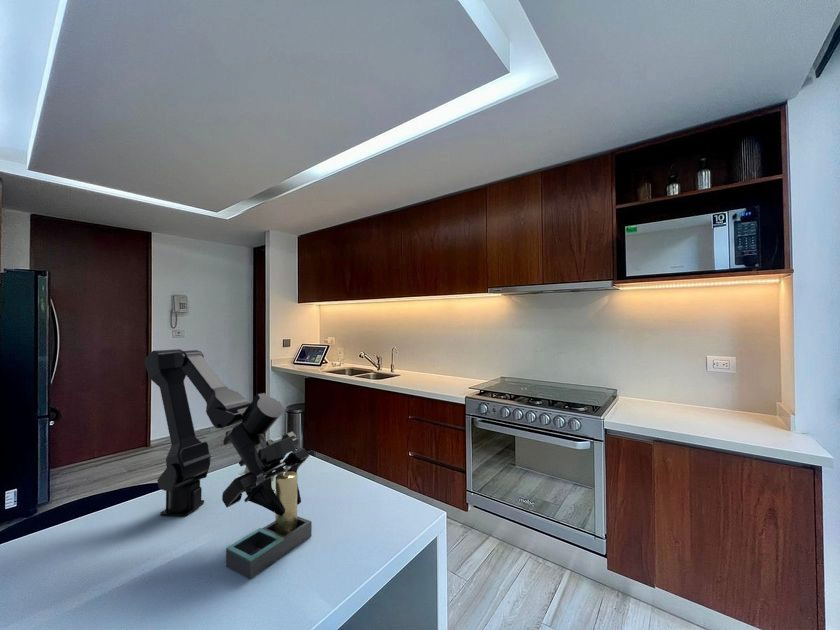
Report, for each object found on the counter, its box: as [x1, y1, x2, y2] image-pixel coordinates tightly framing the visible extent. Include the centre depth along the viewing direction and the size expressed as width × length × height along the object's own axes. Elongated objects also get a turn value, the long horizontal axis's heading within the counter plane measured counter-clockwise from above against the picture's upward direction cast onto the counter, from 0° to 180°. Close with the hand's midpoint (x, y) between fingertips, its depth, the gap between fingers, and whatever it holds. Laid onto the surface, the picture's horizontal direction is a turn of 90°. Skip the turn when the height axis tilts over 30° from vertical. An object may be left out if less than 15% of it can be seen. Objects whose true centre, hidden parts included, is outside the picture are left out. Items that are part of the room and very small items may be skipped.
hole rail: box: [225, 515, 313, 580], centre depth 67 cm, size 14×7×3 cm, turn 151°
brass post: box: [274, 472, 298, 536], centre depth 70 cm, size 4×4×13 cm
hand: (291, 508), depth 70 cm, fingers closed on brass post, 4 cm apart
